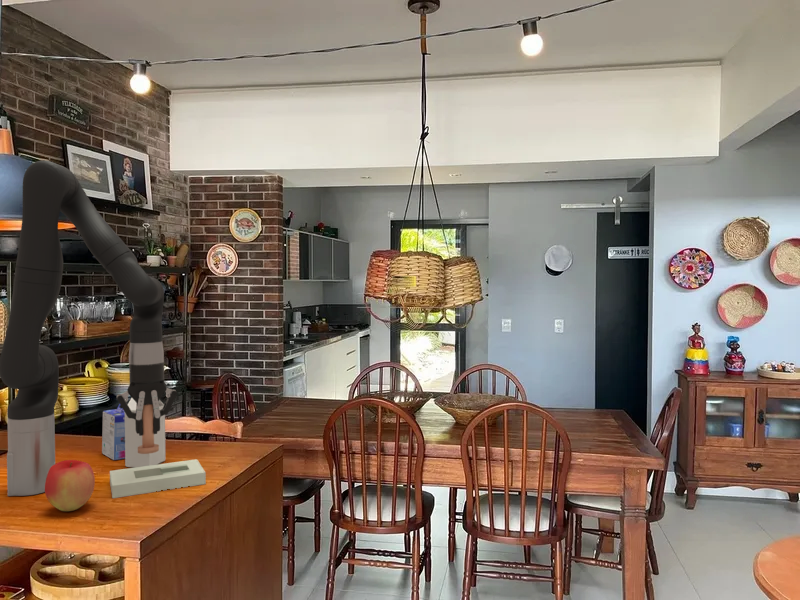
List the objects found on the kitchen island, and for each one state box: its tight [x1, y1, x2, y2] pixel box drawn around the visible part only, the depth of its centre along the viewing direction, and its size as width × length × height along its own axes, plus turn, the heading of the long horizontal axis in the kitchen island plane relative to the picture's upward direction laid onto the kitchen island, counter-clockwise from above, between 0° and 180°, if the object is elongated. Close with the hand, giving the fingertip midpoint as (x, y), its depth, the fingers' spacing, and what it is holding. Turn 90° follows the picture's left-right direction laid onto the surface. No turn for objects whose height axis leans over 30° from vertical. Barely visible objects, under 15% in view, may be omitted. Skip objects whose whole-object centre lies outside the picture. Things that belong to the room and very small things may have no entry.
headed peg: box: [138, 404, 159, 454], centre depth 141 cm, size 5×5×11 cm
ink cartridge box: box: [101, 403, 125, 461], centre depth 166 cm, size 10×6×14 cm, turn 44°
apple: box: [44, 459, 96, 512], centre depth 126 cm, size 10×10×10 cm
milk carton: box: [124, 397, 166, 468], centre depth 158 cm, size 7×7×19 cm
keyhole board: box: [109, 458, 207, 499], centre depth 143 cm, size 20×12×3 cm, turn 118°
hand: (148, 433), depth 141 cm, fingers closed on headed peg, 2 cm apart
